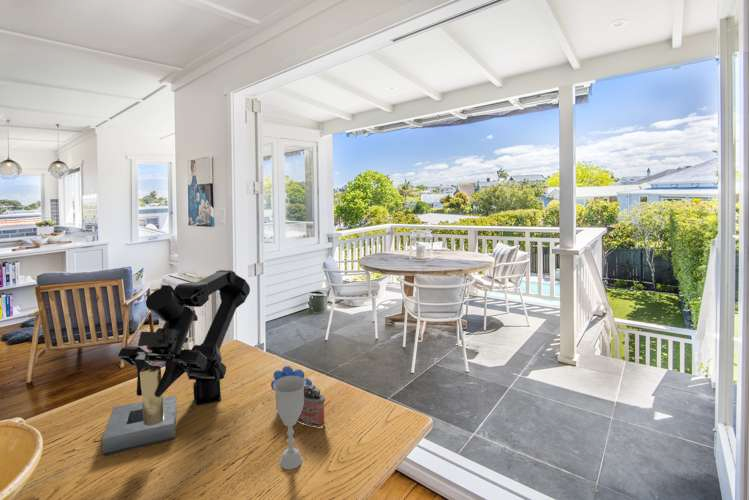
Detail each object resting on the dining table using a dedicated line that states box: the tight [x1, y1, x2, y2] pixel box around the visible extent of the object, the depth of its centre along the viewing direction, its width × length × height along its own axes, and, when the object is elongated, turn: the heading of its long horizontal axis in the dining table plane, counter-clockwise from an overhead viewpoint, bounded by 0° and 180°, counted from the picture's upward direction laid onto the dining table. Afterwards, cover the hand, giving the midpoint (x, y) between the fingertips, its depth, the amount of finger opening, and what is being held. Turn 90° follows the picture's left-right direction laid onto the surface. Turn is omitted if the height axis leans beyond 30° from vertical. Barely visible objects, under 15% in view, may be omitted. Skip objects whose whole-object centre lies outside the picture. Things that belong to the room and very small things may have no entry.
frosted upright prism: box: [140, 365, 164, 426], centre depth 84 cm, size 4×4×12 cm
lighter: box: [298, 384, 326, 427], centre depth 96 cm, size 8×3×10 cm, turn 65°
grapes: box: [270, 365, 313, 392], centre depth 102 cm, size 12×7×12 cm, turn 87°
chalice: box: [273, 376, 306, 470], centre depth 81 cm, size 7×7×18 cm
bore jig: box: [101, 395, 178, 456], centre depth 92 cm, size 14×14×4 cm
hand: (147, 395), depth 82 cm, fingers closed on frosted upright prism, 4 cm apart
